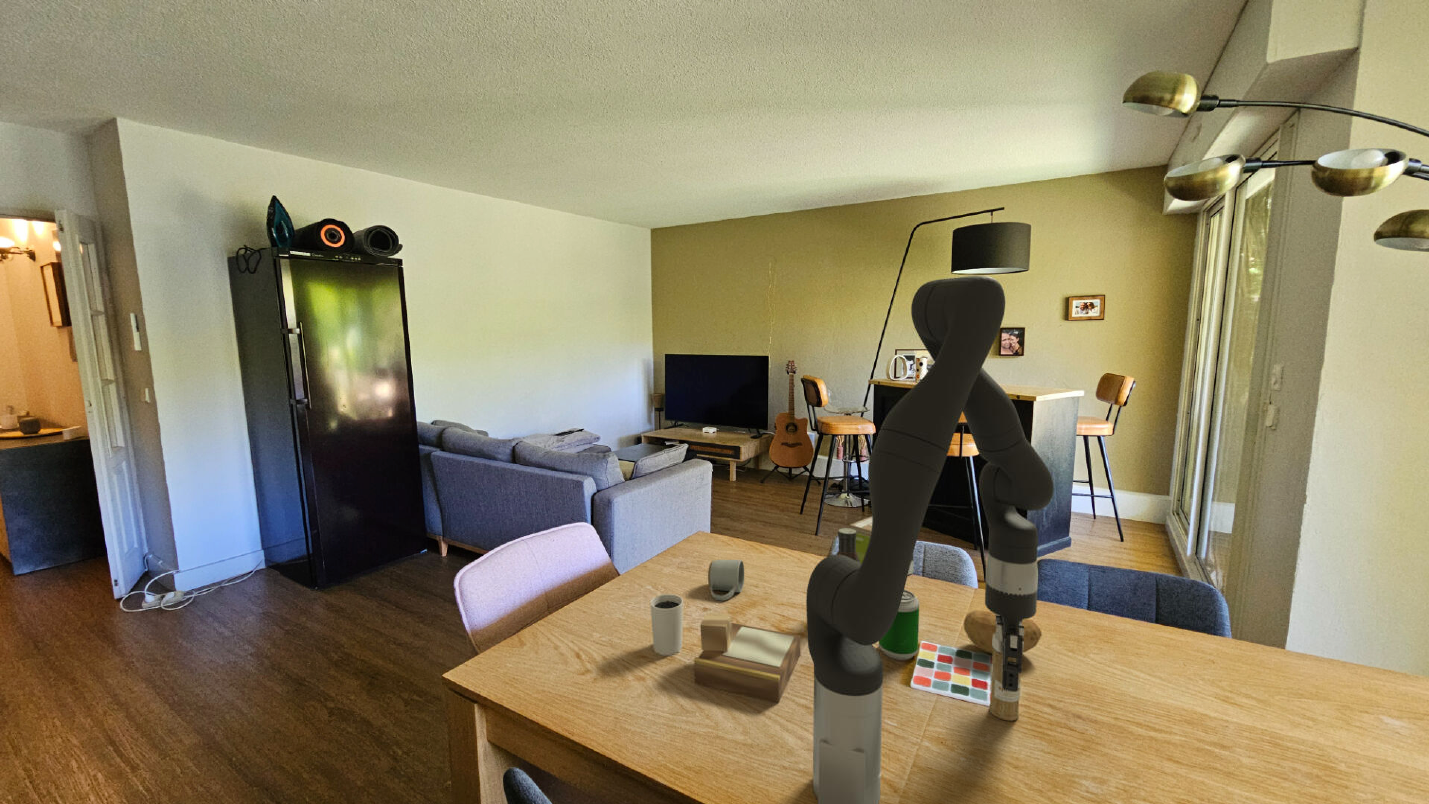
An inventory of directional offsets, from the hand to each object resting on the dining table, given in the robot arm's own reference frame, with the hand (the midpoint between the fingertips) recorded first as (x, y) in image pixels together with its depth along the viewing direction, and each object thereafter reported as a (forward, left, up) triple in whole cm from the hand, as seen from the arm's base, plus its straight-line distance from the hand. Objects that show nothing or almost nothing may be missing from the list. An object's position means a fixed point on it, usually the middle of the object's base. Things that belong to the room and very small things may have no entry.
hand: (1007, 674), depth 96 cm
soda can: (+13, +18, -7) cm, 23 cm away
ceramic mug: (+26, +60, -7) cm, 66 cm away
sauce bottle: (+24, +30, -7) cm, 39 cm away
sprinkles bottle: (0, 0, -7) cm, 7 cm away
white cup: (-2, +62, -7) cm, 63 cm away
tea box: (+49, +25, -7) cm, 55 cm away
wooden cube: (-6, +50, 0) cm, 51 cm away
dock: (-3, +44, -7) cm, 45 cm away
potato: (+20, -1, -7) cm, 21 cm away
